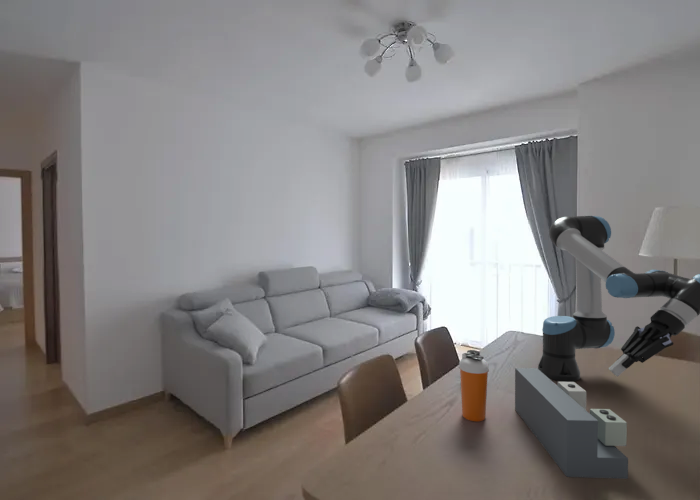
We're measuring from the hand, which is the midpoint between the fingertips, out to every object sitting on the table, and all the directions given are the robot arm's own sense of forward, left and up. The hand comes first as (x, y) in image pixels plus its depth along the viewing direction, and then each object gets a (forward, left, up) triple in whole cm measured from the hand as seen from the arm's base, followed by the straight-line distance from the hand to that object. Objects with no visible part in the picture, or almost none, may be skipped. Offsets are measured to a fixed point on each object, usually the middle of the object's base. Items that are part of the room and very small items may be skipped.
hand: (612, 372), depth 112 cm
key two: (+6, -20, -11) cm, 24 cm away
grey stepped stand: (-5, -20, -16) cm, 26 cm away
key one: (-8, -9, -11) cm, 16 cm away
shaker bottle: (-28, -29, -16) cm, 44 cm away
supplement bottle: (-45, -6, -16) cm, 49 cm away
